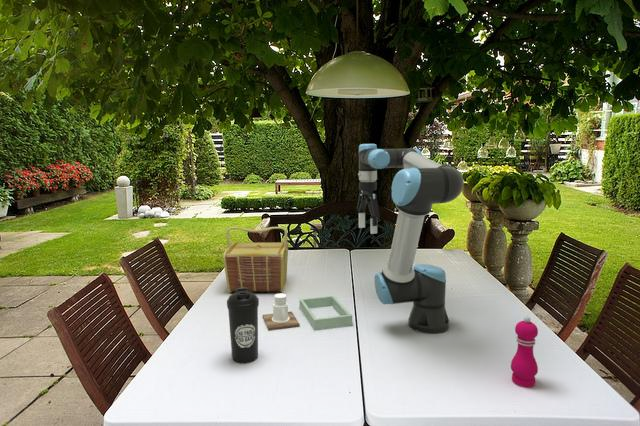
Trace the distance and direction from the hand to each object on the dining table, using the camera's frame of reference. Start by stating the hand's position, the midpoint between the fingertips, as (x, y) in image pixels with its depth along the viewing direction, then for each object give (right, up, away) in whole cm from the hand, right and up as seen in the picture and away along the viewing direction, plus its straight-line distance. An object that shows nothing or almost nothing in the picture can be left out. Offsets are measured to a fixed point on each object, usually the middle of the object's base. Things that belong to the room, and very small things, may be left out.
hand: (367, 230), depth 199 cm
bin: (-19, -34, -11) cm, 41 cm away
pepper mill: (+39, -42, -63) cm, 85 cm away
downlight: (-36, -34, -17) cm, 52 cm away
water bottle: (-45, -40, -46) cm, 76 cm away
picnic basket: (-50, -29, +26) cm, 63 cm away
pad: (-36, -35, -16) cm, 53 cm away
